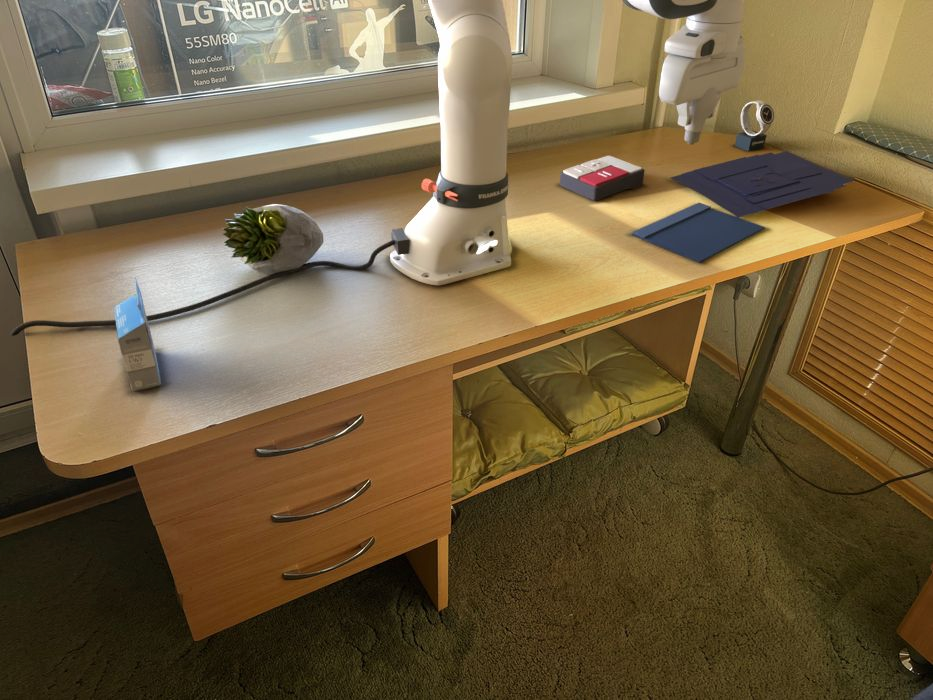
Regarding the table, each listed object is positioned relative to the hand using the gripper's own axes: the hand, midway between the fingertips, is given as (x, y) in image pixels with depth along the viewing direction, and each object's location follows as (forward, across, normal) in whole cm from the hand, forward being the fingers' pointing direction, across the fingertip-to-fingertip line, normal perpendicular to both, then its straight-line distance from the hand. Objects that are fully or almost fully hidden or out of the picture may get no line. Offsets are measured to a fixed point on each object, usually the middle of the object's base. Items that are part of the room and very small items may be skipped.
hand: (695, 121), depth 126 cm
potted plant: (+20, +68, -34) cm, 78 cm away
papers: (+20, -29, +1) cm, 36 cm away
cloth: (+20, -1, +4) cm, 21 cm away
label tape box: (+20, +96, -19) cm, 100 cm away
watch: (+21, -54, -16) cm, 60 cm away
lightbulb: (+4, 0, 0) cm, 4 cm away
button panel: (+20, -5, -23) cm, 31 cm away
